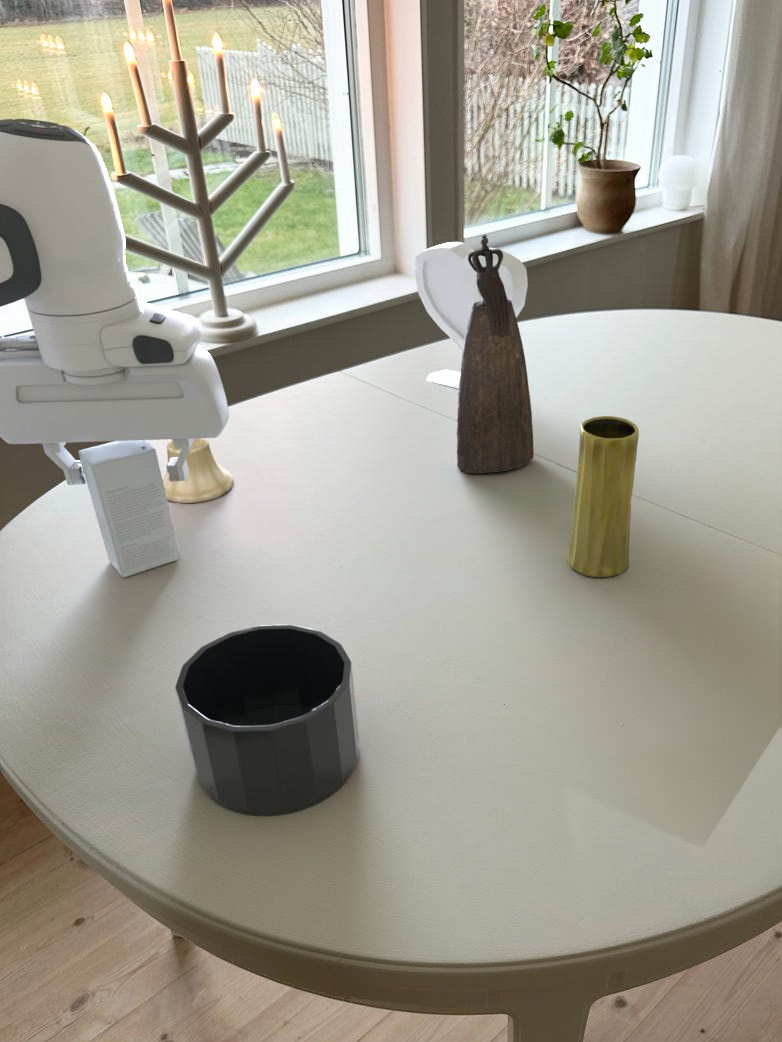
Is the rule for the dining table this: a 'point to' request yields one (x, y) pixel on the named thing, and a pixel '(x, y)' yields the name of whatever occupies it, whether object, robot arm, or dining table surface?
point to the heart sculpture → (460, 291)
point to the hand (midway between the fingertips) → (129, 480)
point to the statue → (493, 379)
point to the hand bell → (197, 475)
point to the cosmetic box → (130, 505)
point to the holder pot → (270, 718)
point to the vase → (603, 497)
